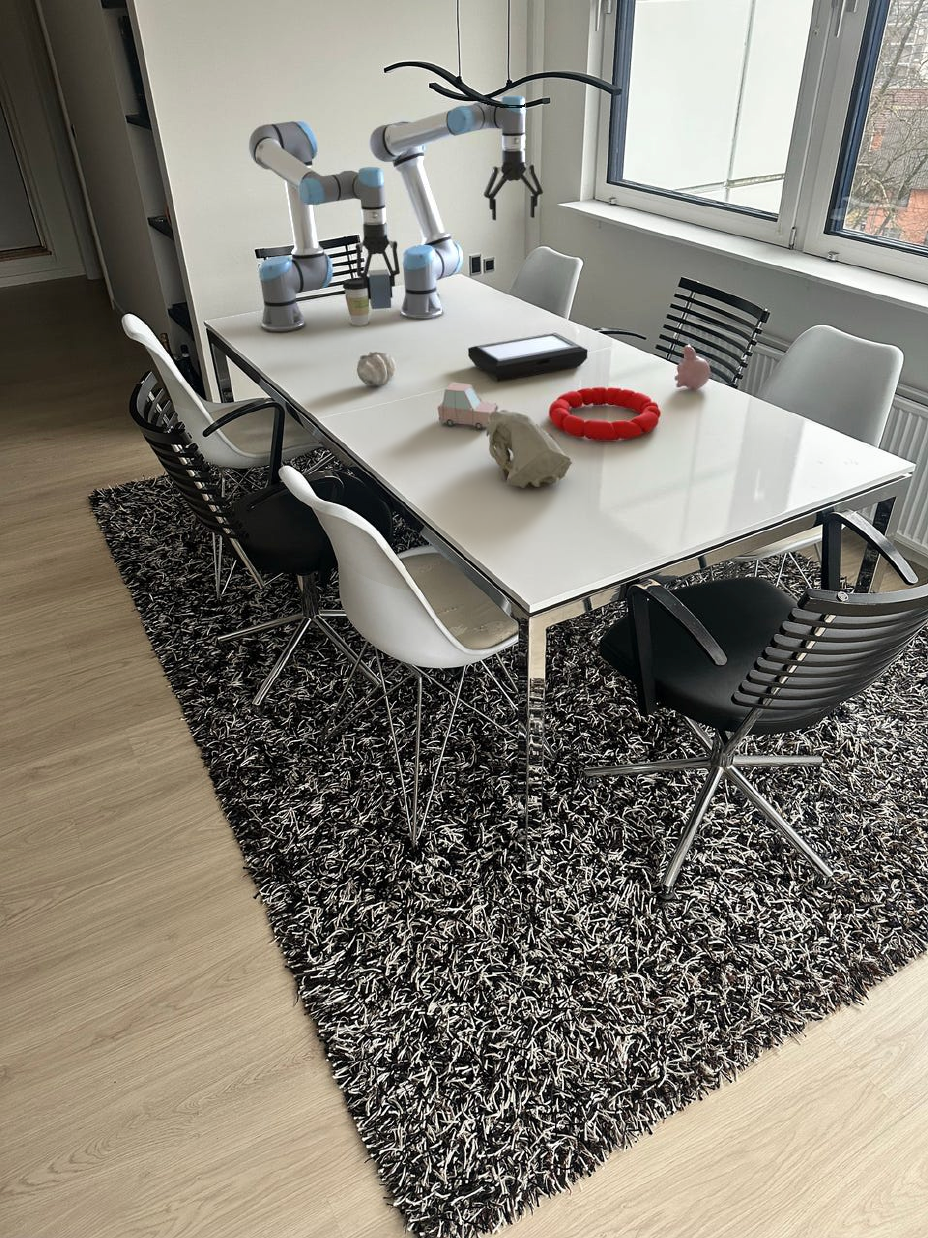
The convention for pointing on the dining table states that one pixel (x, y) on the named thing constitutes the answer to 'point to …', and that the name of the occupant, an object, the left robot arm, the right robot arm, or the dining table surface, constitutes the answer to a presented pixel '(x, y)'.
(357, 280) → the coffee cup
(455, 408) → the toy car
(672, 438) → the dining table surface
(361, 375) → the seashell
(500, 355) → the electronic device
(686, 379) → the figurine
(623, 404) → the decorative ring
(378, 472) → the dining table surface
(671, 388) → the dining table surface
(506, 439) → the animal skull
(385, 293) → the block
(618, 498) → the dining table surface
